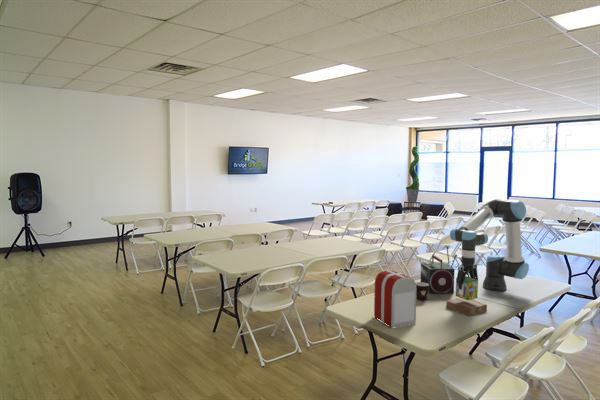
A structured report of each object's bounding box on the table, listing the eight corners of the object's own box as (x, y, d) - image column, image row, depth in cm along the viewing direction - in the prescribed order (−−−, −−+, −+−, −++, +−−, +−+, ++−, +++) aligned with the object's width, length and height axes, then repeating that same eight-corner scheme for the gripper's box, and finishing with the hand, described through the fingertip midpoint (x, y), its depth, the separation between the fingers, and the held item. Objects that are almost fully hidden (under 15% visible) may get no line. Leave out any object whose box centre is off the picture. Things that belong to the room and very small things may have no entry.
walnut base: (464, 302, 249) (464, 296, 249) (486, 311, 235) (486, 304, 235) (446, 307, 242) (446, 300, 242) (468, 315, 228) (468, 309, 227)
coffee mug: (429, 298, 258) (429, 283, 257) (427, 302, 251) (427, 286, 250) (410, 295, 263) (411, 280, 262) (408, 299, 255) (409, 284, 255)
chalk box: (467, 300, 232) (468, 276, 230) (454, 296, 240) (455, 272, 238) (478, 298, 236) (479, 274, 235) (465, 293, 244) (466, 270, 243)
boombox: (418, 285, 284) (419, 245, 281) (446, 285, 285) (447, 244, 282) (427, 294, 266) (428, 250, 263) (457, 293, 267) (459, 250, 264)
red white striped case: (391, 328, 210) (392, 279, 208) (373, 317, 227) (373, 271, 224) (416, 323, 217) (417, 276, 214) (396, 312, 233) (397, 268, 231)
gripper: (475, 253, 244) (473, 288, 246) (450, 257, 234) (448, 294, 236) (485, 255, 237) (484, 292, 239) (460, 260, 227) (459, 297, 229)
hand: (466, 293), depth 238 cm, fingers closed on chalk box, 9 cm apart
